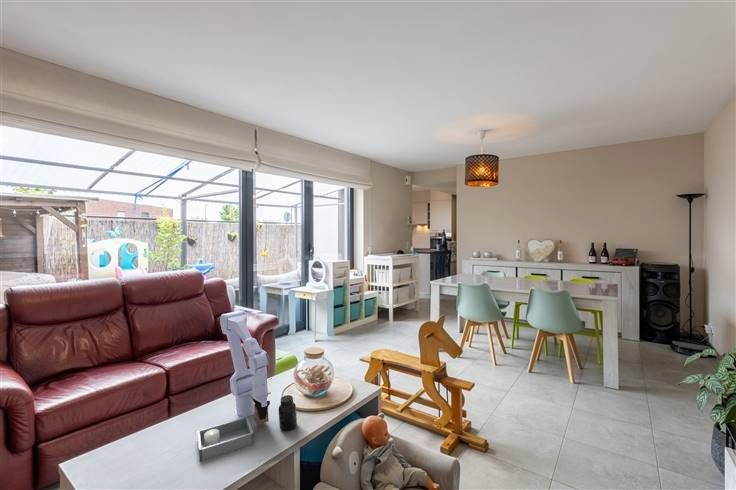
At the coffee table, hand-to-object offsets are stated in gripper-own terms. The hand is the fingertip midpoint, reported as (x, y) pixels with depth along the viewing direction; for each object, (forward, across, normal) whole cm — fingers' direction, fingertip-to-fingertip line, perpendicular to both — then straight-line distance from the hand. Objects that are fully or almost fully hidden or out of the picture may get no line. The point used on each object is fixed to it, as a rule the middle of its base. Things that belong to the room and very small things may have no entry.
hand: (261, 415), depth 137 cm
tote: (+4, -4, +14) cm, 15 cm away
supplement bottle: (+5, -6, -9) cm, 12 cm away
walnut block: (+2, 0, 0) cm, 2 cm away
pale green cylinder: (+4, -4, +18) cm, 19 cm away
